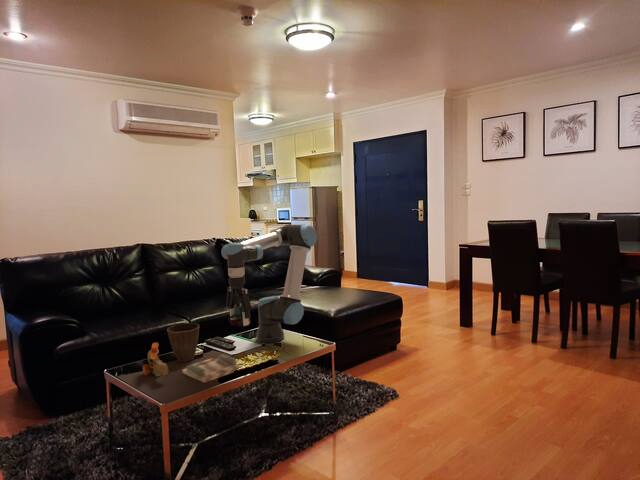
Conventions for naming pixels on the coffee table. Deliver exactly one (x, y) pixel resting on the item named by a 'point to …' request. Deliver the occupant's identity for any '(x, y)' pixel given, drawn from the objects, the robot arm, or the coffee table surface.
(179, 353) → the plant pot
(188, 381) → the coffee table surface
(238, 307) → the binoculars
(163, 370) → the toy helicopter
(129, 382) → the coffee table surface
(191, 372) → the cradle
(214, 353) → the coffee table surface
